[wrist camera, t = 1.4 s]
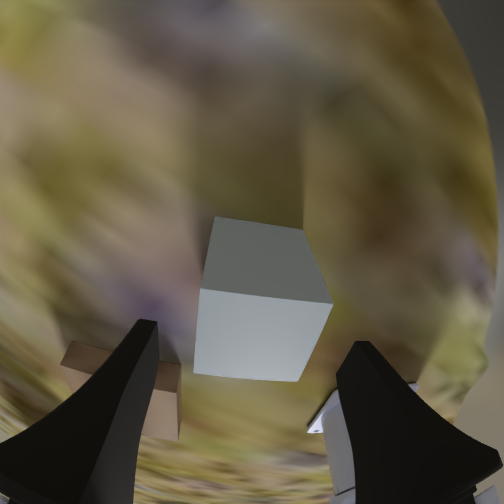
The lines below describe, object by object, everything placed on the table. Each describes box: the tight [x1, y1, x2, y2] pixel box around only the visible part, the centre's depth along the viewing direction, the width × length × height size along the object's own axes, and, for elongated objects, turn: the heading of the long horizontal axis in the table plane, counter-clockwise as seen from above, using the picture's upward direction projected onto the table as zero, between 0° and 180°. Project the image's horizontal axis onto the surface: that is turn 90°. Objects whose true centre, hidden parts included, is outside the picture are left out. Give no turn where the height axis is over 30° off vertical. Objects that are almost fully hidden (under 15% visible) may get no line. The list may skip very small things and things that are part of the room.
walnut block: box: [60, 341, 181, 441], centre depth 21 cm, size 9×9×3 cm
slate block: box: [193, 216, 333, 382], centre depth 13 cm, size 4×4×6 cm
